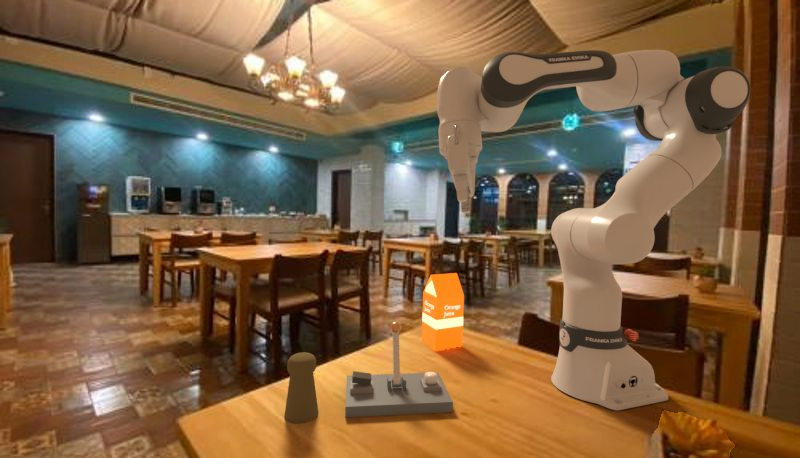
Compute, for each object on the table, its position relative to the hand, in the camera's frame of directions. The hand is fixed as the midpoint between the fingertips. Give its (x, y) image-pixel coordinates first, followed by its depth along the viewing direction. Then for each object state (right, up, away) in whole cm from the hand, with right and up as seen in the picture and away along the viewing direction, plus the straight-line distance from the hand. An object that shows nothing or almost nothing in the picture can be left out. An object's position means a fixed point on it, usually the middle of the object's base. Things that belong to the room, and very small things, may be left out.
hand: (464, 207), depth 73 cm
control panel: (-14, -38, 0) cm, 41 cm away
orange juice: (-1, -37, +29) cm, 47 cm away
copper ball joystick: (-14, -35, 0) cm, 38 cm away
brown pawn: (-31, -39, -6) cm, 50 cm away
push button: (-7, -35, 0) cm, 36 cm away
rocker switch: (-21, -34, -1) cm, 40 cm away
